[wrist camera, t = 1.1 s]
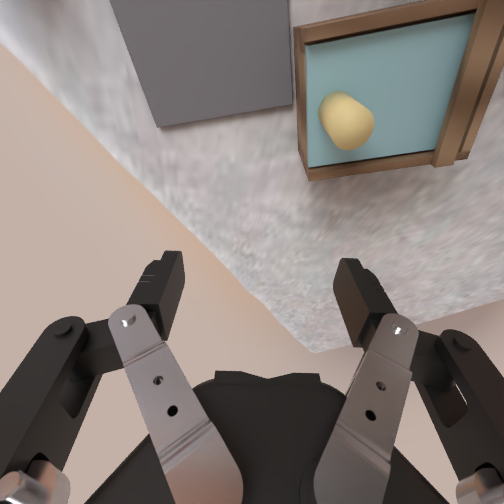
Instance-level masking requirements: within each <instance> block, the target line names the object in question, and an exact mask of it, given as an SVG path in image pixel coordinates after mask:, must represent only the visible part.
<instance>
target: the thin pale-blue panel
mask: <svg viewBox="0 0 504 504" xmlns="http://www.w3.org/2000/svg"><path fill="white" fill-rule="evenodd" d="M475 14H476V12H474V13H468V14H463V15H458V16H453V17H448V18H443V19H438V20H433V21H428V22H423V23H418V24H413V25H408V26H402V27H397V28H392V29H387V30H382V31H377V32H372V33H367V34H362V35H357V36H352V37H347V38H342V39H337V40H331V41H326V42H321V43H316V44H311V45H306V46H305V63H306V116H307V165H308V167H315V166H322V165H329V164H336V163H343V162H350V161H356V160H363V159H370V158H377V157H384V156H391V155H398V154H404V153H411V152H418V151H425V150H432V149H435V148H436V144H437V141H438V138H439V134H440V131H441V128H442V124H443V121H444V118H445V114H446V111H447V108H448V104H449V101H450V98H451V94H452V91H453V88H454V84H455V81H456V78H457V74H458V71H459V68H460V64H461V61H462V58H463V54H464V51H465V48H466V44H467V41H468V38H469V34H470V31H471V28H472V24H473V21H474V18H475Z"/></svg>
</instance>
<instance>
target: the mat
mask: <svg viewBox="0 0 504 504" xmlns="http://www.w3.org/2000/svg"><path fill="white" fill-rule="evenodd" d="M110 3H111V6H112V8H113V11H114V14H115V16H116V19H117V22H118V24H119V27H120V30H121V32H122V35H123V38H124V40H125V43H126V46H127V48H128V51H129V54H130V56H131V59H132V62H133V65H134V67H135V70H136V73H137V75H138V78H139V81H140V83H141V86H142V89H143V91H144V94H145V97H146V99H147V102H148V105H149V107H150V110H151V113H152V115H153V118H154V121H155V123H156V126H157V128H158V127H163V126H169V125H175V124H181V123H186V122H192V121H198V120H204V119H210V118H215V117H221V116H227V115H233V114H238V113H244V112H250V111H256V110H261V109H267V108H273V107H279V106H284V105H290V104H293V103H292V83H291V63H290V43H289V23H288V3H287V0H110Z"/></svg>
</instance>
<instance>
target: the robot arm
mask: <svg viewBox="0 0 504 504" xmlns="http://www.w3.org/2000/svg"><path fill="white" fill-rule="evenodd" d="M184 283H185V272H184V265H183V257H182V252H181V251H165V252H164V254H163V256H162V258H161V260H154V261H152V262H151V263H150V264H149V265H148V266H147V267H146V268H145V270H144V272H143V275H142V276H141V278H140V280H139V282H138V283H137V286H136V287H135V289H134V291H133V293H132V295H131V297H130V299H129V301H128V302H127V304H126V306H123V307H121V308H119V309H117V310H116V311H114V312H113V313H112V314H111V316H110V317H109V318H108V319H105V320H101V321H97V322H92V323H87V324H85V322H84V321H83V319H81V318H80V317H76V316H70V317H65V318H61V319H59V320H57V321H55V322H53V323H52V324H50V325H49V326H48V327H47V328H46V329H45V330H44V331H43V333H42V334H41V336H40V337H39V339H38V340H37V341H36V343H35V344H34V346H33V347H32V348H31V350H30V351H29V353H28V354H27V355H26V357H25V358H24V360H23V361H22V362H21V364H20V366H19V367H18V368H17V370H16V371H15V372H14V374H13V375H12V377H11V378H10V379H9V381H8V382H7V384H6V385H5V387H4V388H3V389H2V391H1V392H0V504H67V503H68V498H69V495H70V482H69V479H68V478H67V477H66V475H65V474H64V473H62V470H63V468H64V466H65V463H66V461H67V459H68V456H69V454H70V451H71V449H72V447H73V444H74V442H75V439H76V437H77V435H78V432H79V430H80V427H81V425H82V423H83V420H84V418H85V416H86V413H87V411H88V408H89V406H90V403H91V401H92V399H93V396H94V394H95V392H96V389H97V387H98V384H99V382H100V380H101V377H102V374H104V373H107V372H111V371H114V370H118V369H122V368H125V371H126V374H127V376H128V379H129V381H130V384H131V387H132V390H133V392H134V394H135V397H136V400H137V403H138V405H139V408H140V411H141V413H142V416H143V418H144V421H145V424H146V426H147V429H148V431H149V434H148V435H147V436H146V437H145V438H144V440H143V441H142V442H141V443H140V444H139V445H138V446H137V447H136V448H135V449H134V450H133V451H132V452H131V453H130V455H129V456H128V457H127V458H126V459H125V460H124V461H123V462H122V463H121V464H120V465H119V467H118V468H117V469H116V470H115V471H114V472H113V473H112V474H111V475H110V476H109V477H108V478H107V479H106V480H105V482H104V483H103V484H102V485H101V486H100V487H99V488H98V489H97V490H96V491H95V492H94V493H93V494H92V496H91V497H90V498H89V499H88V500H87V501H86V502H85V503H84V504H449V502H447V500H446V499H445V498H444V497H443V496H442V495H441V494H440V493H439V492H438V491H437V490H436V489H435V488H434V487H433V486H432V485H431V484H430V483H429V482H428V481H427V480H426V479H425V477H424V476H423V475H422V474H421V473H420V472H419V471H418V470H417V469H416V468H415V467H414V466H413V465H412V464H411V463H410V462H409V461H408V460H407V459H406V458H405V457H404V456H403V455H402V454H401V453H400V452H399V450H398V449H397V448H396V447H395V446H394V443H395V439H396V435H397V431H398V427H399V423H400V420H401V415H402V412H403V408H404V404H405V400H406V397H407V393H408V389H409V385H410V381H414V382H415V384H416V387H417V389H418V391H419V393H420V395H421V398H422V400H423V402H424V404H425V406H426V409H427V411H428V413H429V415H430V418H431V420H432V422H433V424H434V426H435V429H436V431H437V433H438V435H439V438H440V440H441V442H442V444H443V446H444V449H445V451H446V453H447V455H448V458H449V459H450V462H451V464H452V466H453V469H454V471H455V473H456V475H457V477H458V480H459V483H458V484H457V487H456V498H457V502H458V504H504V378H503V376H502V375H501V373H500V372H499V371H498V369H497V368H496V367H495V365H494V364H493V363H492V361H491V360H490V359H489V357H488V356H487V355H486V353H485V352H484V351H483V349H482V348H481V347H480V345H479V344H478V343H477V342H476V341H475V340H474V339H472V338H471V337H470V336H468V335H467V334H465V333H462V332H460V331H457V330H452V329H448V330H445V331H443V332H442V333H441V335H440V336H437V335H434V334H430V333H426V332H423V331H420V330H418V329H417V327H416V326H415V324H414V323H413V322H412V321H410V320H409V319H408V318H406V317H404V316H402V315H399V314H398V313H397V311H396V310H395V308H394V306H393V305H392V303H391V301H390V299H389V298H388V296H387V294H386V293H385V292H384V289H383V287H382V286H381V285H380V282H379V281H378V279H377V277H376V276H375V275H374V274H373V273H372V272H371V271H370V270H368V269H363V267H362V265H361V263H360V261H359V260H358V259H355V258H342V259H341V260H340V262H339V265H338V269H337V272H336V275H335V278H334V282H333V291H334V294H335V297H336V300H337V303H338V305H339V308H340V311H341V314H342V317H343V319H344V322H345V325H346V328H347V331H348V333H349V336H350V339H351V342H352V345H353V347H362V348H363V350H364V354H363V356H362V358H361V361H360V363H359V365H358V367H357V369H356V371H355V374H354V376H353V378H352V380H351V382H350V384H349V387H348V389H347V391H346V393H345V395H344V394H343V393H342V392H340V391H339V390H337V389H335V388H334V387H332V386H330V385H328V384H325V383H322V382H321V381H320V376H319V374H317V373H315V374H314V373H291V374H287V375H283V376H278V377H274V378H270V379H266V378H262V377H259V376H255V375H252V374H248V373H245V372H241V371H215V378H214V379H211V380H208V381H206V382H203V383H201V384H199V385H197V386H196V387H194V388H193V389H192V388H191V386H190V384H189V383H188V381H187V379H186V377H185V376H184V374H183V372H182V370H181V368H180V366H179V365H178V363H177V361H176V360H175V357H174V356H173V354H172V352H171V350H170V349H169V347H168V345H167V343H166V342H165V341H167V340H168V337H169V333H170V330H171V327H172V323H173V320H174V317H175V314H176V311H177V307H178V303H179V301H180V297H181V294H182V291H183V288H184ZM163 341H164V342H163ZM456 384H457V386H458V387H459V389H460V391H461V393H462V394H463V396H464V398H465V400H466V402H467V405H466V402H465V401H464V399H463V397H462V395H461V394H460V392H459V390H458V388H457V387H456Z"/></svg>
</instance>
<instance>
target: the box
mask: <svg viewBox="0 0 504 504" xmlns="http://www.w3.org/2000/svg"><path fill="white" fill-rule="evenodd" d="M474 12H476V14H475V18H474V21H473V24H472V28H471V31H470V34H469V38H468V41H467V44H466V48H465V51H464V54H463V58H462V61H461V64H460V68H459V71H458V74H457V78H456V81H455V84H454V88H453V91H452V94H451V98H450V101H449V104H448V108H447V111H446V114H445V118H444V121H443V124H442V128H441V131H440V134H439V138H438V141H437V144H436V148H435V149H432V150H425V151H418V152H411V153H404V154H398V155H391V156H384V157H377V158H370V159H363V160H356V161H350V162H343V163H336V164H329V165H322V166H315V167H308V165H307V116H306V63H305V46H306V45H311V44H316V43H321V42H326V41H331V40H337V39H342V38H347V37H352V36H357V35H362V34H367V33H372V32H377V31H382V30H387V29H392V28H397V27H402V26H408V25H413V24H418V23H423V22H428V21H433V20H438V19H443V18H448V17H453V16H458V15H463V14H468V13H474ZM293 31H294V56H295V80H296V105H297V129H298V151H299V154H300V157H301V160H302V163H303V165H304V168H305V171H306V174H307V177H308V180H309V181H314V180H321V179H328V178H335V177H342V176H349V175H356V174H364V173H371V172H378V171H385V170H392V169H399V168H406V167H413V166H421V165H428V164H431V165H432V166H434V167H442V166H449V165H453V163H454V161H456V160H463V159H467V158H468V156H469V153H470V150H471V148H472V145H473V143H474V140H475V138H476V135H477V132H478V130H479V127H480V125H481V122H482V120H483V117H484V114H485V112H486V109H487V107H488V104H489V102H490V99H491V97H492V94H493V91H494V89H495V86H496V84H497V81H498V79H499V76H500V73H501V71H502V68H503V66H504V0H423V1H419V2H414V3H409V4H404V5H399V6H394V7H389V8H385V9H380V10H375V11H370V12H365V13H360V14H355V15H351V16H346V17H341V18H336V19H331V20H326V21H321V22H317V23H312V24H307V25H302V26H297V27H293Z"/></svg>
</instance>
